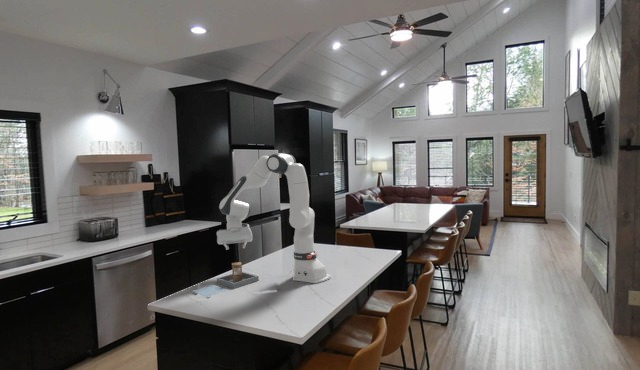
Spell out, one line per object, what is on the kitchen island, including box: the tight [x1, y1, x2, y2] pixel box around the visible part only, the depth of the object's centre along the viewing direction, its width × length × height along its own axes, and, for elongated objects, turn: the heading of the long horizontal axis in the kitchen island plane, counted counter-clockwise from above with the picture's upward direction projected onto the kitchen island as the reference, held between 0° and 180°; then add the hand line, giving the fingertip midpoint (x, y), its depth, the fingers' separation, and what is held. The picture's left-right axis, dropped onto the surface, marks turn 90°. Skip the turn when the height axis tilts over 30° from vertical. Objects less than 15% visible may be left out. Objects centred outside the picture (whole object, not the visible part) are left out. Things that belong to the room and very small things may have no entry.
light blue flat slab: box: [192, 284, 228, 299], centre depth 197 cm, size 14×12×1 cm
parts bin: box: [216, 271, 259, 289], centre depth 209 cm, size 16×16×4 cm
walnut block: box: [231, 261, 243, 283], centre depth 209 cm, size 5×5×10 cm
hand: (235, 248), depth 220 cm, fingers open, 8 cm apart
